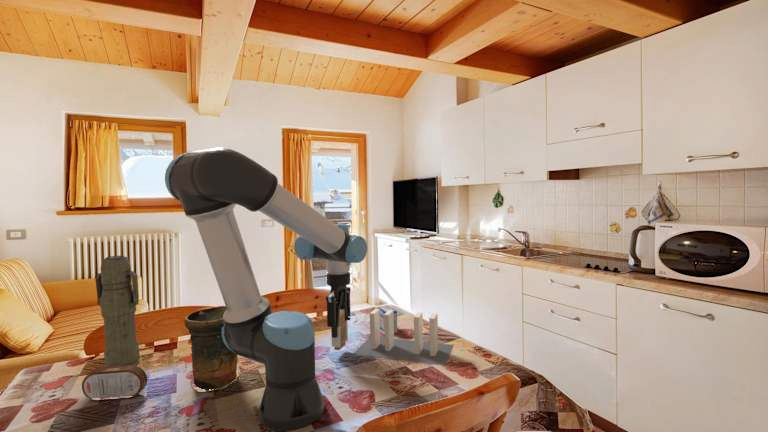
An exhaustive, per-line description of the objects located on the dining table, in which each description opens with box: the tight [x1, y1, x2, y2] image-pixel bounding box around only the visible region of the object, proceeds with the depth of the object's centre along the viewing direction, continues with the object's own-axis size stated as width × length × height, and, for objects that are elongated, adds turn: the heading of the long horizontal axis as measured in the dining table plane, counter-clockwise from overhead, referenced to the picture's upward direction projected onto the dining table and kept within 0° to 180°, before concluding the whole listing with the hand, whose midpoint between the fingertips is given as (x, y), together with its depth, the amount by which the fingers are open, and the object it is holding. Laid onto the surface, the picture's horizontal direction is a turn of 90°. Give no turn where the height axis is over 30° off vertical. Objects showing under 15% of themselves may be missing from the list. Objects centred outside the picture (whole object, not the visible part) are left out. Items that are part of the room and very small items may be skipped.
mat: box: [352, 336, 455, 366], centre depth 130 cm, size 16×30×1 cm, turn 71°
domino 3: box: [413, 311, 424, 354], centre depth 128 cm, size 2×5×12 cm, turn 161°
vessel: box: [183, 305, 240, 391], centre depth 113 cm, size 14×14×20 cm
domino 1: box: [369, 308, 381, 349], centre depth 133 cm, size 2×5×12 cm, turn 161°
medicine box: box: [377, 305, 398, 334], centre depth 149 cm, size 8×4×9 cm, turn 25°
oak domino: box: [333, 309, 347, 351], centre depth 128 cm, size 2×5×12 cm, turn 161°
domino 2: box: [383, 310, 395, 351], centre depth 131 cm, size 2×5×12 cm, turn 161°
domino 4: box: [428, 313, 439, 356], centre depth 126 cm, size 2×5×12 cm, turn 161°
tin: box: [81, 365, 148, 400], centre depth 104 cm, size 15×3×8 cm, turn 98°
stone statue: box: [95, 255, 141, 367], centre depth 121 cm, size 9×12×35 cm
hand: (339, 343), depth 128 cm, fingers closed on oak domino, 5 cm apart
